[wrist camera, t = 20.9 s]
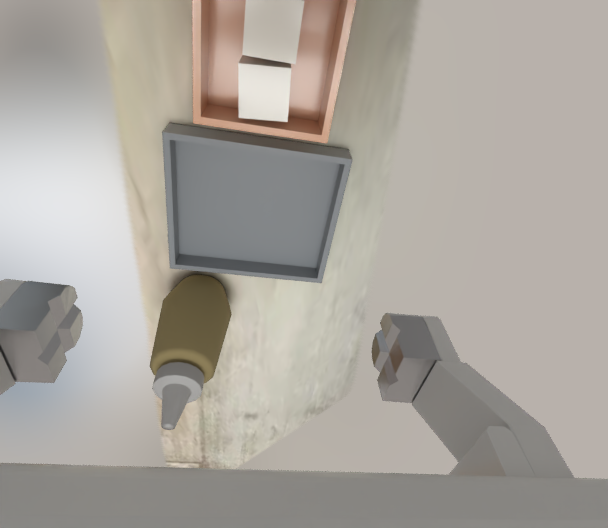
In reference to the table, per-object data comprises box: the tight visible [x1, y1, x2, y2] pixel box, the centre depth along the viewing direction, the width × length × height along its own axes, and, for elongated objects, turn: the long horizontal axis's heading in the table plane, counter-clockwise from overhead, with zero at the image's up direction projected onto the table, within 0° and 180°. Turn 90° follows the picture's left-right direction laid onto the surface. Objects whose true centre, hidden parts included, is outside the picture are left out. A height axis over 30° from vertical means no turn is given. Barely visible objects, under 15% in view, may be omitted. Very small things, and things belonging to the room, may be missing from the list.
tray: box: [162, 123, 352, 283], centre depth 40 cm, size 15×17×3 cm
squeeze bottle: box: [150, 275, 231, 430], centre depth 41 cm, size 8×8×18 cm
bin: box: [192, 0, 356, 143], centre depth 30 cm, size 11×11×5 cm
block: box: [238, 55, 292, 122], centre depth 31 cm, size 4×4×4 cm
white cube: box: [242, 0, 304, 64], centre depth 29 cm, size 4×4×4 cm
